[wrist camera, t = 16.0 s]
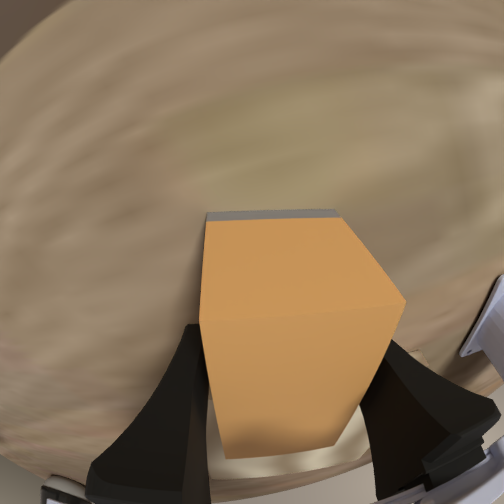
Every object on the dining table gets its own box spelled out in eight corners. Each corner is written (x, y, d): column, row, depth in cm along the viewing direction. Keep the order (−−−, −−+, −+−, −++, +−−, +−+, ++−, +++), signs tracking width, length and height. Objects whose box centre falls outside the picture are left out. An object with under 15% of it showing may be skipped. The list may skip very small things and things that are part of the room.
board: (419, 349, 18) (428, 365, 16) (354, 449, 27) (357, 459, 25) (180, 379, 16) (178, 400, 15) (211, 467, 25) (212, 479, 24)
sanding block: (332, 207, 12) (406, 301, 7) (307, 354, 16) (334, 445, 11) (207, 210, 11) (199, 320, 6) (220, 361, 16) (225, 459, 11)
